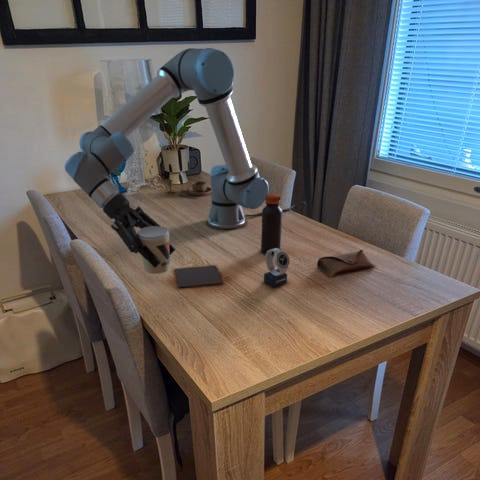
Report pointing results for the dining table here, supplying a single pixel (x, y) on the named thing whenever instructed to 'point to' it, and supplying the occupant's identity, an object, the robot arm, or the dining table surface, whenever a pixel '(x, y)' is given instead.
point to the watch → (278, 275)
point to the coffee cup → (156, 247)
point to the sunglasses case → (344, 263)
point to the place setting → (194, 189)
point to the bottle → (271, 224)
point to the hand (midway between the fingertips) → (165, 258)
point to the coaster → (197, 276)
